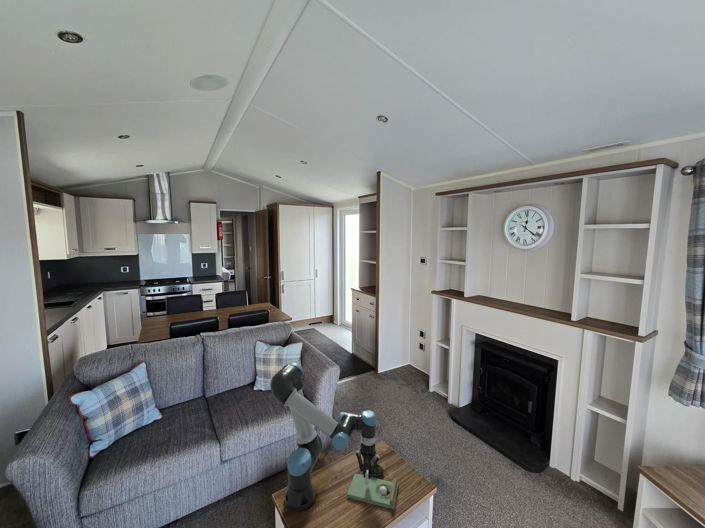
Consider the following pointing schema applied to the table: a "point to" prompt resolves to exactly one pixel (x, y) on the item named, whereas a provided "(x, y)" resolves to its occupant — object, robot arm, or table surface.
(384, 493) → the ball
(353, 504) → the table surface
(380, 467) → the rock
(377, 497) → the green
